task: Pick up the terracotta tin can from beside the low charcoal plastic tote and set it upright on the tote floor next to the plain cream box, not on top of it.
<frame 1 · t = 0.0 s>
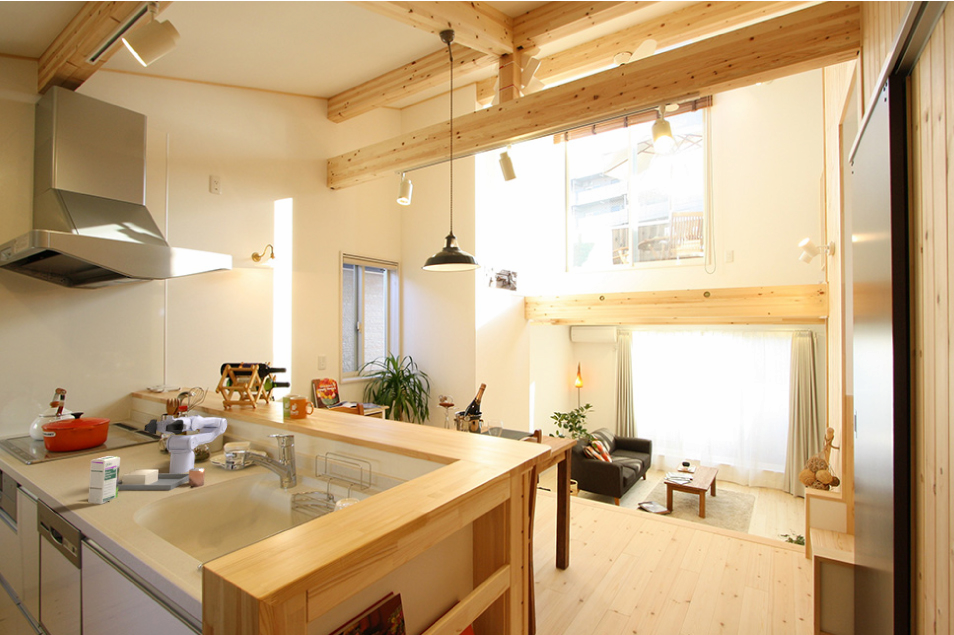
hand: (156, 428, 177), 22 cm above the counter, tool horizontal, fingers open, 7 cm apart
syrup box: (102, 501, 158), on the counter
tin can: (196, 485, 179), on the counter
plain cream box: (140, 483, 176), point 1 cm above the counter, touching tote
tote: (153, 485, 177), on the counter
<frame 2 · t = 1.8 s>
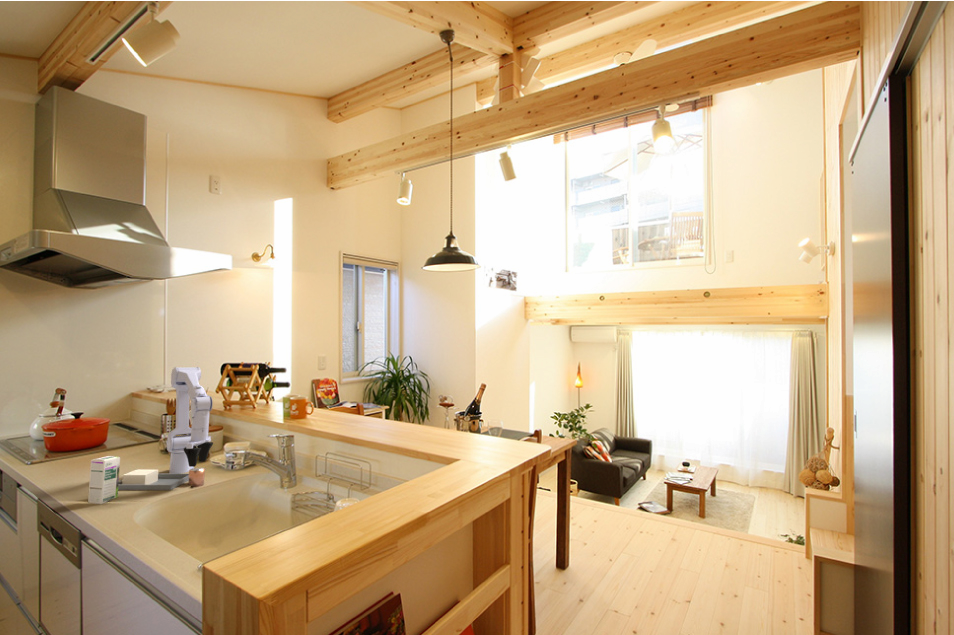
hand: (197, 463, 179), 8 cm above the counter, tool pointing down, fingers open, 7 cm apart
nothing on the counter moved.
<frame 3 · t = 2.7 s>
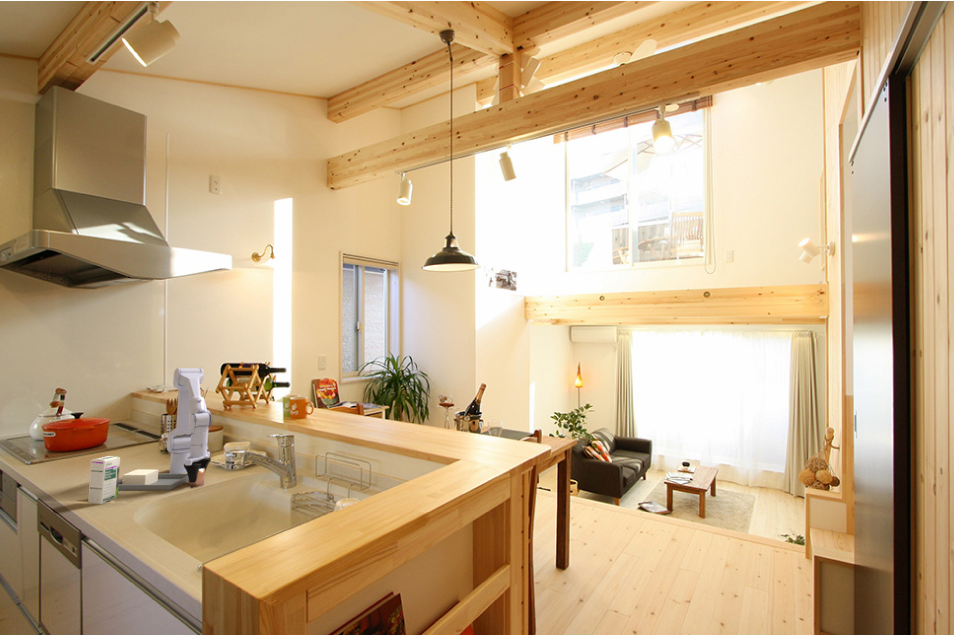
hand: (196, 480, 179), 2 cm above the counter, tool pointing down, fingers closed on tin can, 5 cm apart
tin can: (196, 485, 179), on the counter, touching gripper
everything else where it was.
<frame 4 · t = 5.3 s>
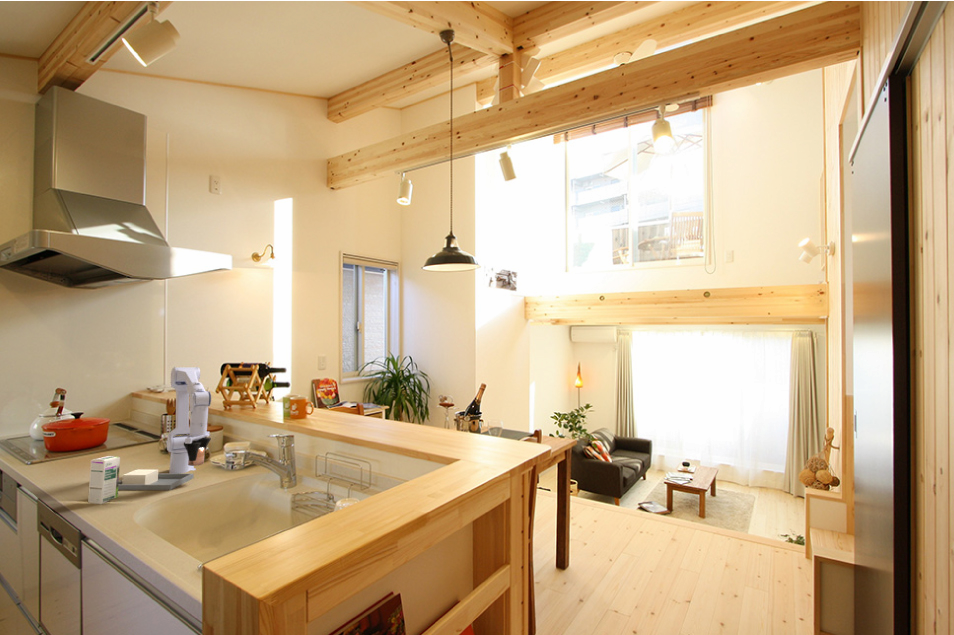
hand: (196, 458, 179), 10 cm above the counter, tool pointing down, fingers closed on tin can, 5 cm apart
tin can: (196, 464, 179), point 8 cm above the counter, touching gripper
everything else where it was.
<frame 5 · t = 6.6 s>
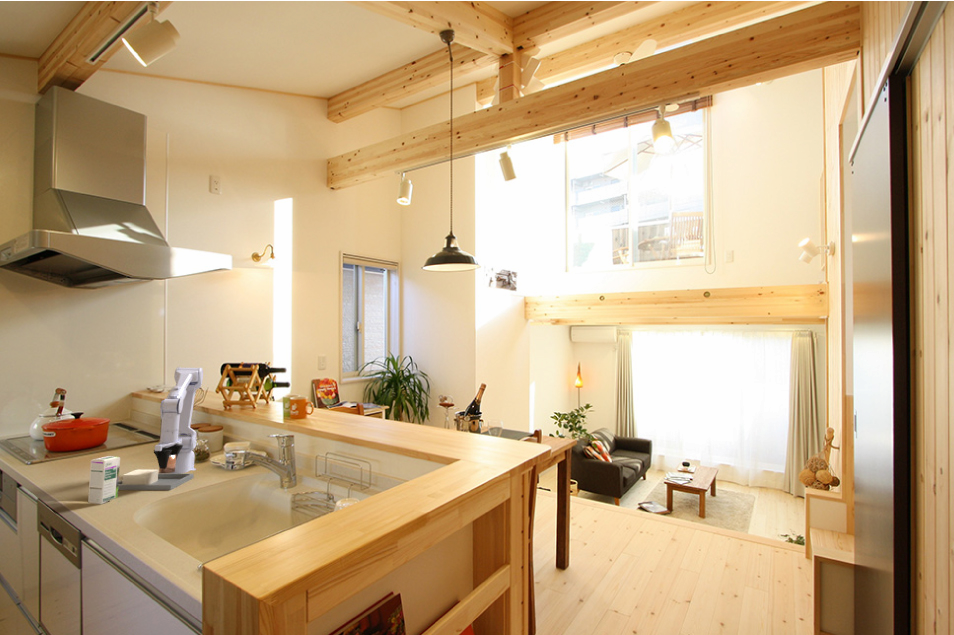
hand: (167, 466, 177), 7 cm above the counter, tool pointing down, fingers closed on tin can, 5 cm apart
tin can: (166, 471, 177), point 5 cm above the counter, touching gripper
everything else where it was.
when the fingers open (4 cm above the counter, at t = 7.6 s): tin can drops 1 cm, resting on tote.
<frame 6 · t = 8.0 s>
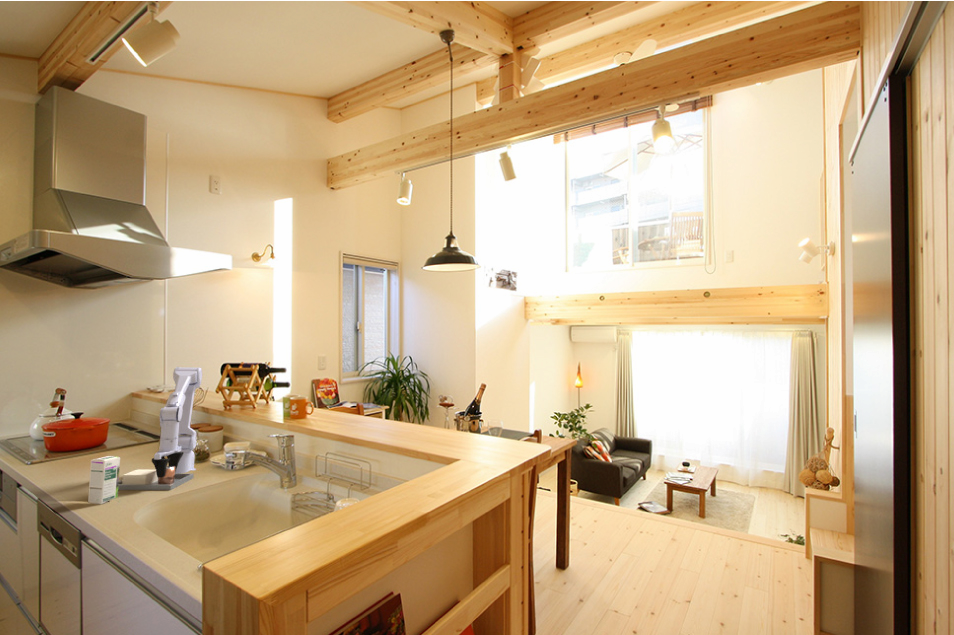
hand: (166, 474, 177), 4 cm above the counter, tool pointing down, fingers open, 7 cm apart
tin can: (166, 483, 177), point 1 cm above the counter, touching tote
everything else where it was.
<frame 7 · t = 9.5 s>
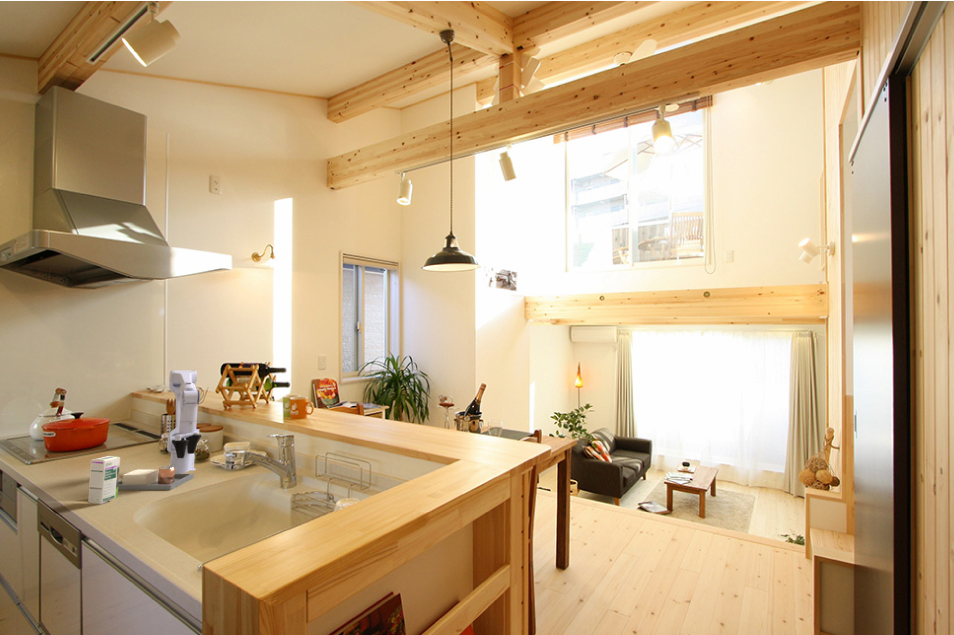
hand: (185, 455, 184), 10 cm above the counter, tool pointing down, fingers open, 7 cm apart
nothing on the counter moved.
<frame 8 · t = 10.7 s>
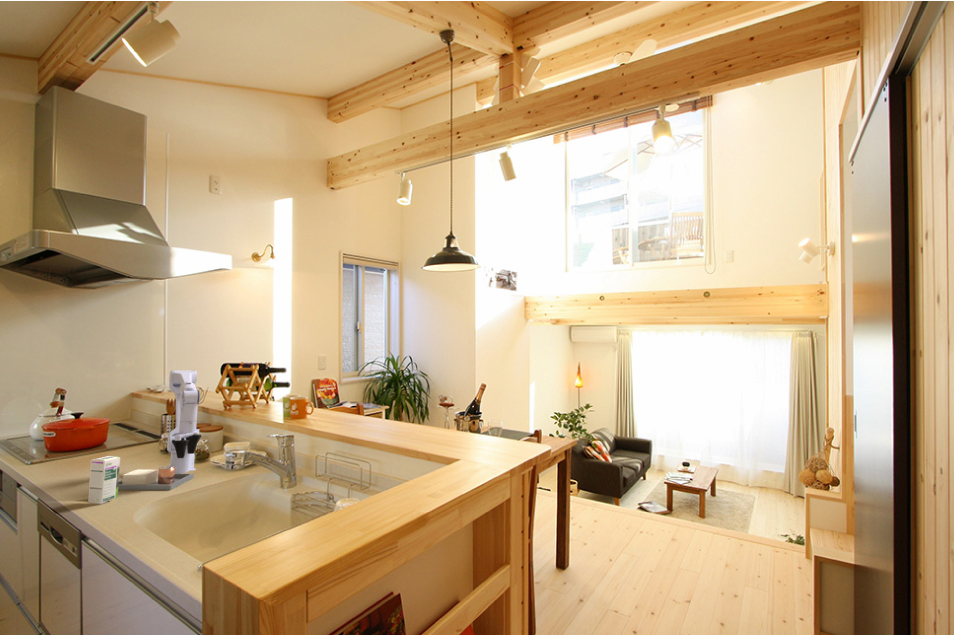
hand: (185, 455, 184), 10 cm above the counter, tool pointing down, fingers open, 7 cm apart
nothing on the counter moved.
at the end: tin can inside the target area on the tote (0.2 cm from its centre), point 0.8 cm above the tote's base; tin can tilted 1°; plain cream box moved 0.0 cm from its start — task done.
